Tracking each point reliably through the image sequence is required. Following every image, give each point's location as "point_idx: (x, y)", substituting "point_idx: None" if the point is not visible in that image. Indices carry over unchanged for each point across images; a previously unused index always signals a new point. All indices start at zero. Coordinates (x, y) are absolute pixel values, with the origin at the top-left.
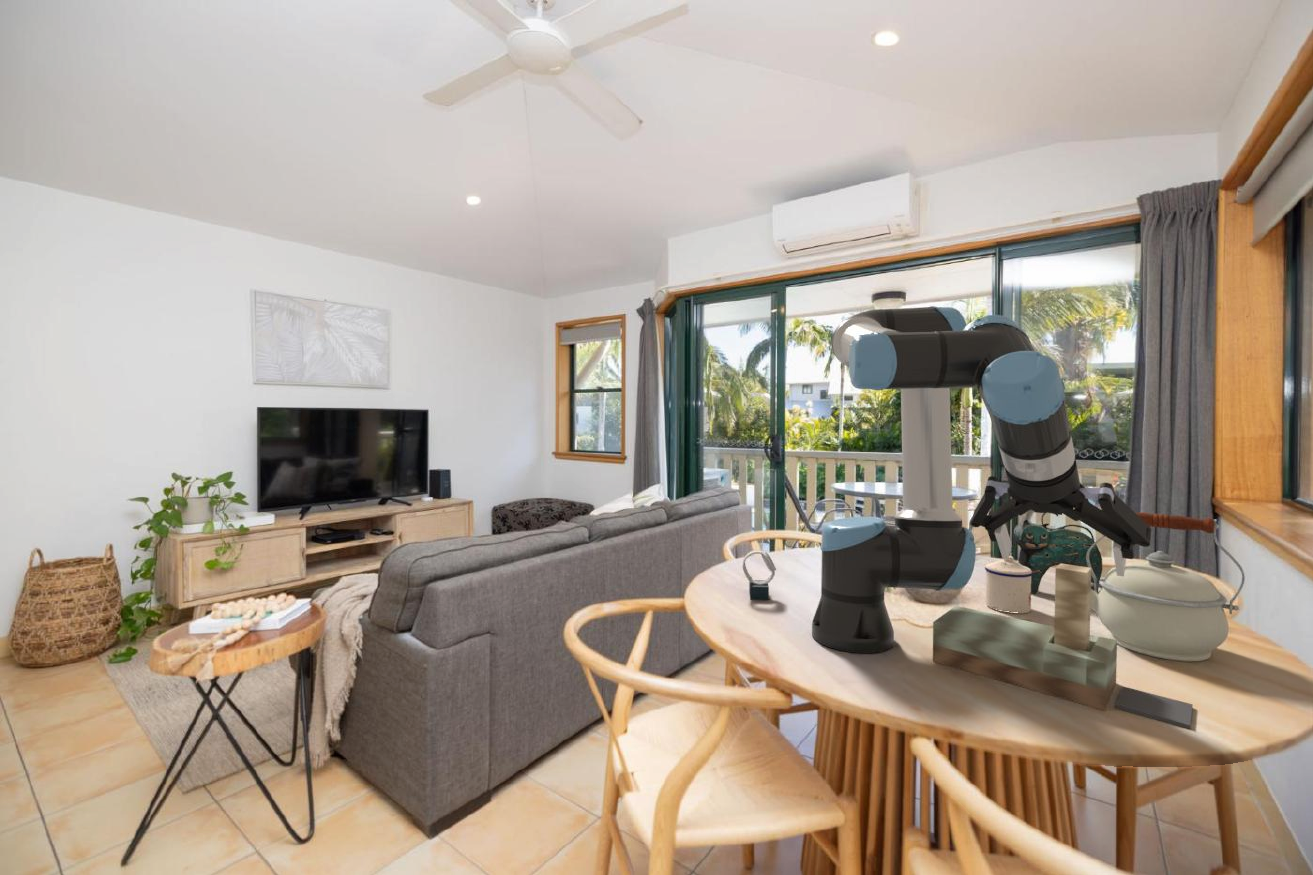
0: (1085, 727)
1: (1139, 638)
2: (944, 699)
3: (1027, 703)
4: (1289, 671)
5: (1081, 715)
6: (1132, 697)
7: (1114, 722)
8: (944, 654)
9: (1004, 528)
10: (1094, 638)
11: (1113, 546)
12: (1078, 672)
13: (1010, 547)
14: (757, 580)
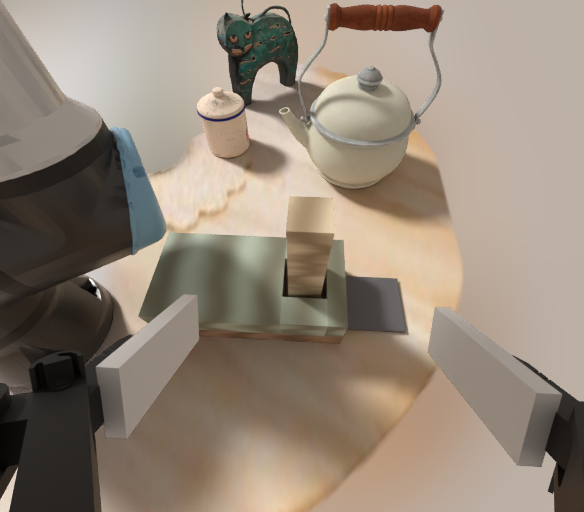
0: (330, 406)
1: (344, 180)
2: (181, 451)
3: (271, 383)
4: (430, 163)
5: (322, 374)
6: (355, 297)
7: (350, 368)
8: None
9: (143, 365)
10: None
11: (521, 464)
12: (317, 332)
13: (195, 309)
14: None
